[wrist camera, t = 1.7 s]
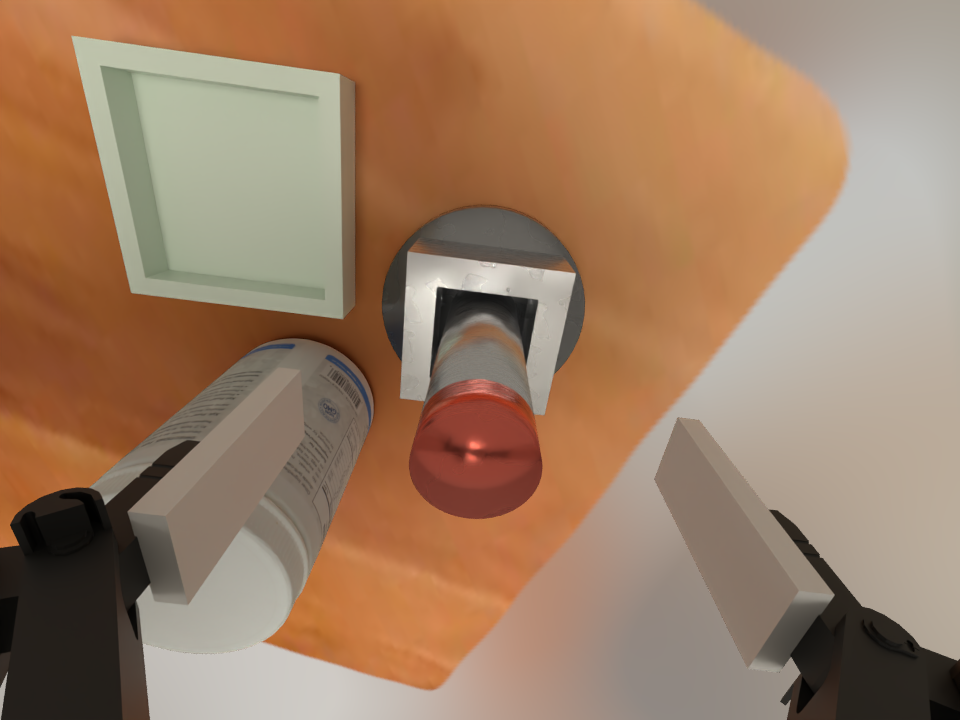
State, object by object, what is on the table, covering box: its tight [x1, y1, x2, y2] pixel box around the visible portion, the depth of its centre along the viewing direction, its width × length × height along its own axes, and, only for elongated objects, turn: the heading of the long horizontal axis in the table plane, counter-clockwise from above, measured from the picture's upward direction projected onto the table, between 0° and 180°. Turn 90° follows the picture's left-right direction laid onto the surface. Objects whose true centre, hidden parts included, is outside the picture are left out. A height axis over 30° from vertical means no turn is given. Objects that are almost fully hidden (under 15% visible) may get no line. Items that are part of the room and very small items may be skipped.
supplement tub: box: [90, 338, 374, 654], centre depth 23 cm, size 10×10×15 cm
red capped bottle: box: [409, 290, 542, 519], centre depth 19 cm, size 4×4×14 cm
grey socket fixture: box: [382, 205, 585, 415], centre depth 24 cm, size 12×12×6 cm
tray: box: [72, 36, 355, 319], centre depth 23 cm, size 12×12×2 cm
